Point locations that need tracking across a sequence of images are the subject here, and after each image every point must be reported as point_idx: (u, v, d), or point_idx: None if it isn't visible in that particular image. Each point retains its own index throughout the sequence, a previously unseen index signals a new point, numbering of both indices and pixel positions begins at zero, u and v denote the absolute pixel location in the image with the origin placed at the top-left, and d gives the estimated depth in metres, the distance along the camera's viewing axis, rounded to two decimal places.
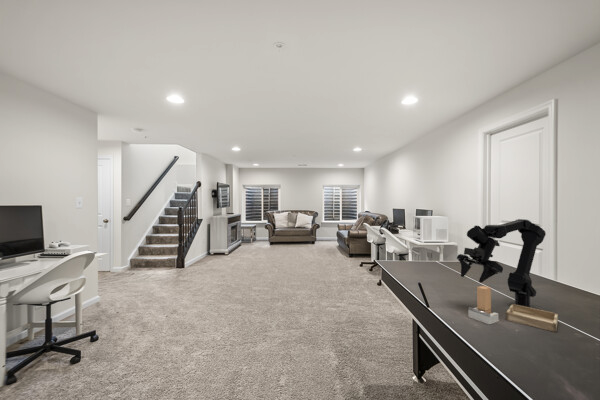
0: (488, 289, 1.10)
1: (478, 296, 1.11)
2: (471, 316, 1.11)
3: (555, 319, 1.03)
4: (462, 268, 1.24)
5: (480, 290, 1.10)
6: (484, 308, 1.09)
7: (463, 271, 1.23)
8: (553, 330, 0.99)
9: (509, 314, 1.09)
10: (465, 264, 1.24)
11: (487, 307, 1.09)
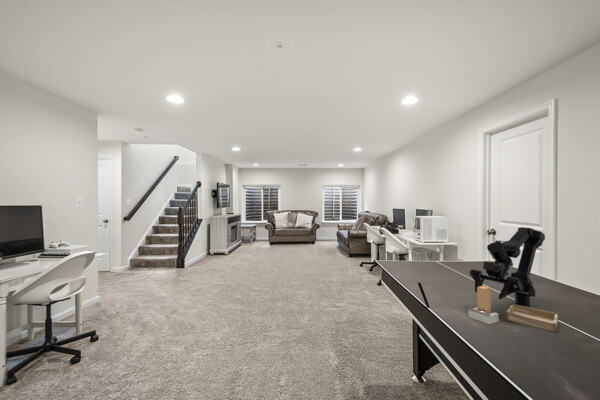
0: (488, 289, 1.10)
1: (478, 296, 1.11)
2: (471, 316, 1.11)
3: (555, 319, 1.03)
4: (476, 283, 1.18)
5: (480, 290, 1.10)
6: (484, 308, 1.09)
7: (477, 286, 1.17)
8: (553, 330, 0.99)
9: (509, 314, 1.09)
10: (479, 280, 1.18)
11: (487, 307, 1.09)
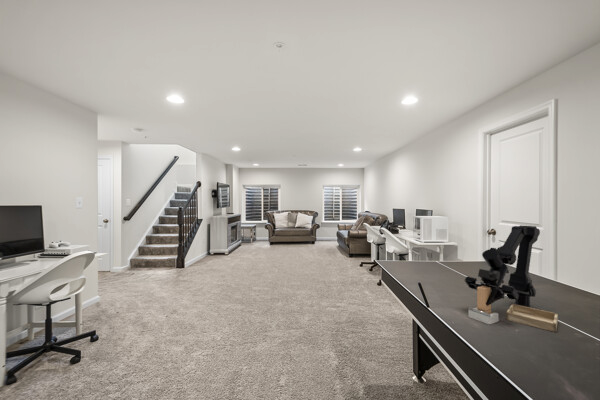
0: (488, 289, 1.10)
1: (478, 296, 1.11)
2: (471, 316, 1.11)
3: (555, 319, 1.03)
4: None
5: (480, 290, 1.10)
6: (484, 308, 1.09)
7: None
8: (553, 330, 0.99)
9: (509, 314, 1.09)
10: None
11: (487, 307, 1.09)
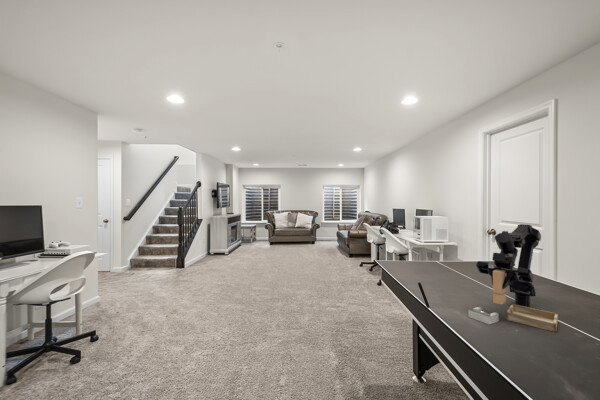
0: (503, 272, 1.09)
1: (494, 280, 1.09)
2: (471, 316, 1.11)
3: (555, 319, 1.03)
4: None
5: (496, 274, 1.08)
6: (500, 291, 1.07)
7: None
8: (553, 330, 0.99)
9: (509, 314, 1.09)
10: None
11: (503, 290, 1.08)
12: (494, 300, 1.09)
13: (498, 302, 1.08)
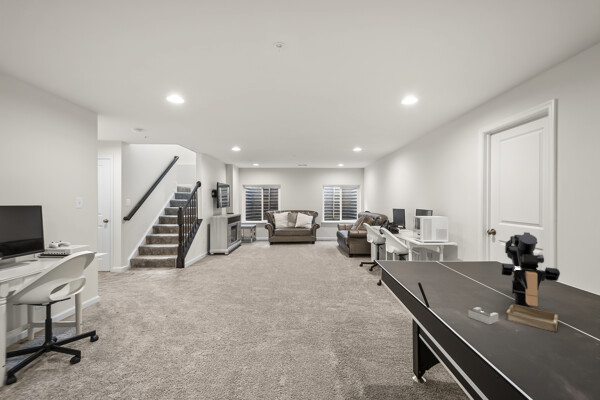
0: None
1: (529, 282, 1.09)
2: (471, 316, 1.11)
3: (555, 319, 1.03)
4: (524, 279, 1.11)
5: (532, 276, 1.08)
6: (536, 293, 1.07)
7: None
8: (553, 330, 0.99)
9: (509, 314, 1.09)
10: None
11: None
12: (529, 302, 1.08)
13: (534, 304, 1.08)
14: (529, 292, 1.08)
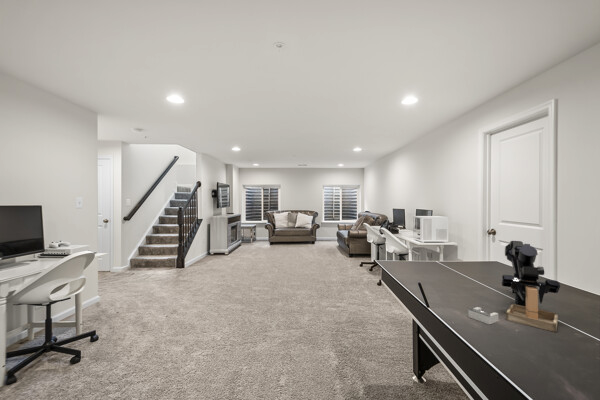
0: None
1: (529, 298, 1.08)
2: (471, 316, 1.11)
3: (555, 319, 1.03)
4: (521, 290, 1.12)
5: (532, 292, 1.08)
6: (536, 309, 1.07)
7: (523, 294, 1.11)
8: (553, 330, 0.99)
9: (509, 314, 1.09)
10: None
11: None
12: None
13: None
14: (529, 308, 1.08)
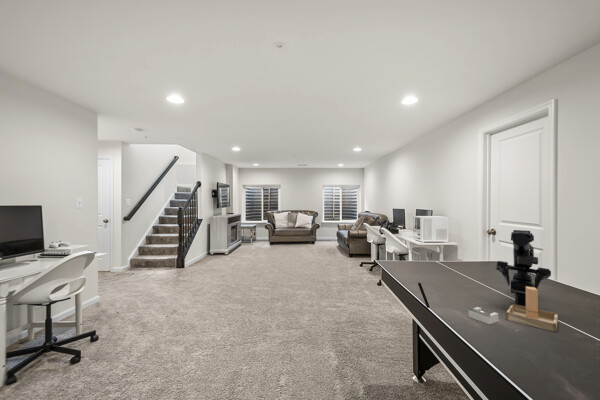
0: None
1: (529, 298, 1.08)
2: (471, 316, 1.11)
3: (555, 319, 1.03)
4: (507, 276, 1.20)
5: (532, 292, 1.08)
6: (536, 309, 1.07)
7: None
8: (553, 330, 0.99)
9: (509, 314, 1.09)
10: None
11: None
12: None
13: None
14: (529, 308, 1.08)
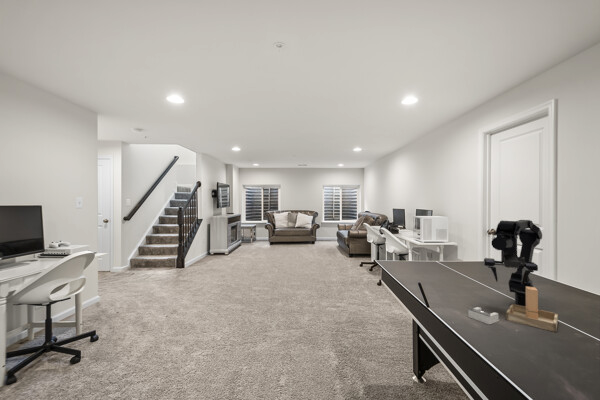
0: None
1: (529, 298, 1.08)
2: (471, 316, 1.11)
3: (555, 319, 1.03)
4: (495, 274, 1.21)
5: (532, 292, 1.08)
6: (536, 309, 1.07)
7: (496, 276, 1.21)
8: (553, 330, 0.99)
9: (509, 314, 1.09)
10: (495, 268, 1.21)
11: None
12: None
13: None
14: (529, 308, 1.08)
